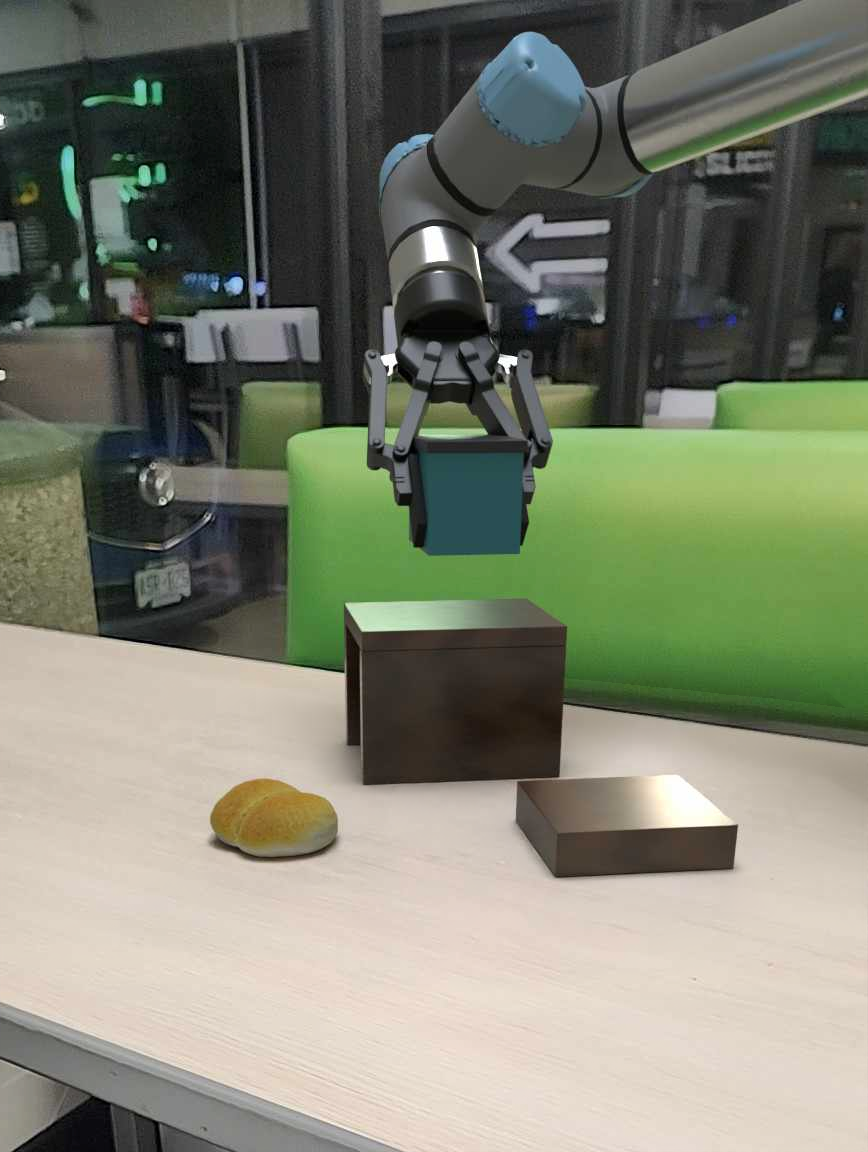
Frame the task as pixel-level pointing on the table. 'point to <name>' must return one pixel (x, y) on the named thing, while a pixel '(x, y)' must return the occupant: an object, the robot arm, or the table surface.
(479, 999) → the table surface
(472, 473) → the box
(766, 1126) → the table surface
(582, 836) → the bottom shelf
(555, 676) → the top shelf
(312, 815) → the bread roll
